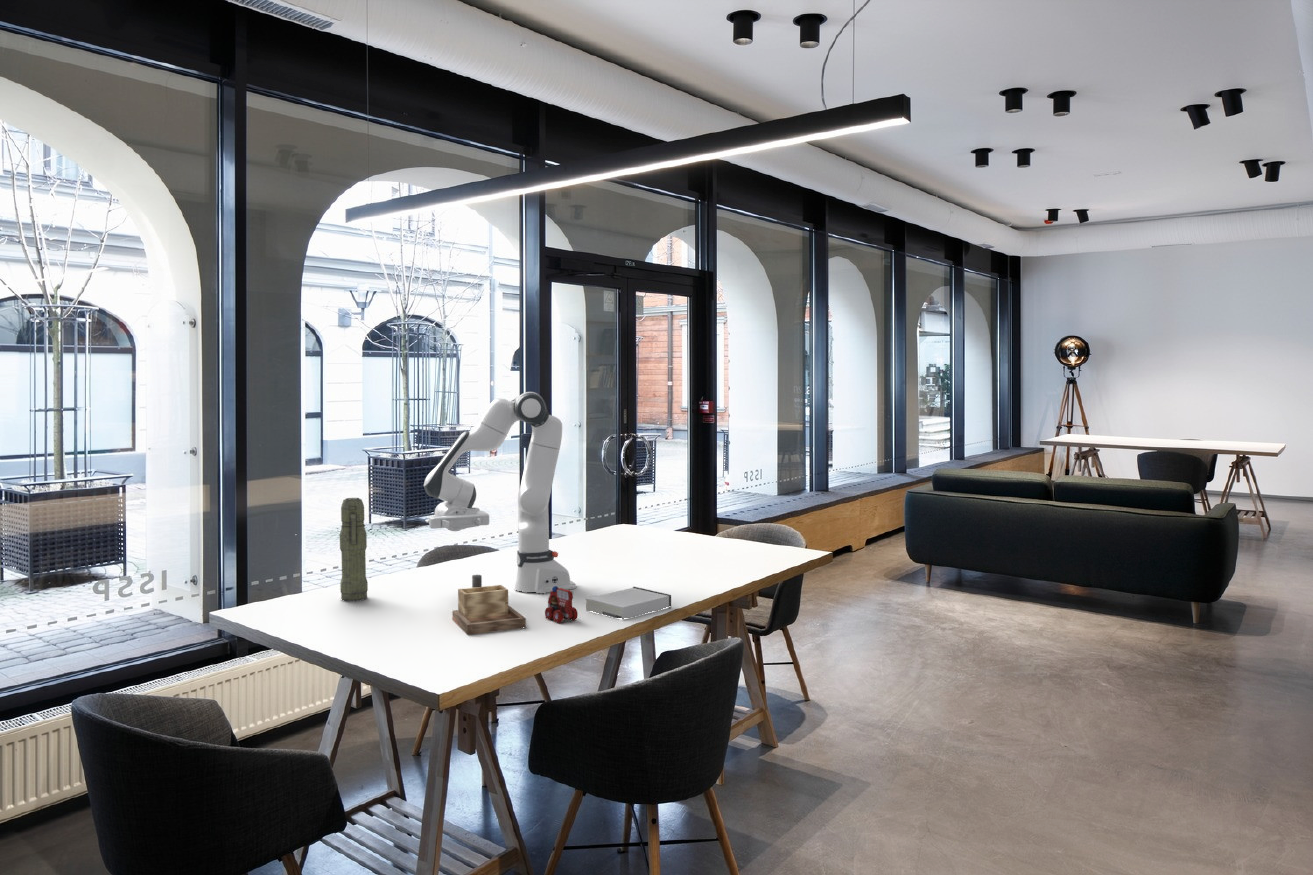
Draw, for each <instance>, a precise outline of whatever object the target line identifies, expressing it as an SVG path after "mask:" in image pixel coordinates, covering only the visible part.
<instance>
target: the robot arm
mask: <svg viewBox="0 0 1313 875" xmlns="http://www.w3.org/2000/svg"><path fill="white" fill-rule="evenodd" d="M548 411H549V410H548V408H547V405H546V402H545V400H544V398H543V397H542V395H540V394H538V393H537V392H534V391H526V392H523V393H521V394H520V395H519V396H517V397H516V398H514V399H512V400H508V399H506V398H495V399H493V400H492V401H491V403H489V405H488V406H487V408H486V409H485V411H484V412H483V414H482V415H481V417H480V419H479V421H478V423H477V424H476V425H475V426H474V427H473V428H472V429H471V430H469V431H468V430H467V431H466V430H465V431H464V432H462V433H461V434H460V435H459V436H458V437H457V439H456V440H455V441H454V442H453V443H452V445H451V446H450V447H449V448H448V450H447V451H446V452H445V453H444V455H443V456H442V458H441V459H440V461H439V462H437V464H436V465H435V467H433V469H432V470H431V471H430V472H429V473H428V474H427V475H426V477H425V479H424V483H423V488H424V491H425V493H426V495H427V496H429V497H432V498H435V499H439V500H441V501H443V502H440V503H439V504H437V506H436V507H435V509H434V515H433V514H432V515H429V516H428V518H427V519H425V523H427V524H428V525H429V528H430V529H447V530H448V531H451V532H460V531H461V530H466V529H470V528H477V527H481V526H488V525H490V514H489V513H488V512H486V511H483V510H480V508H479V507H474V505H475V502H476V499H477V490H476V487H475V484H474V483H473V482H472V483H471V482H470V481H468V480H466V479H463V478H460V477H458V476H456V475H454V474H451V473H449V471H450V470H451V468H452V467H453V465H454V464H455V463H456V461H457V460H458V459H459V458H460V456H461V455H463V454H464V453H465V452H473V451H475V452H491V451H495V450H497V449H499V448H500V447H501V446H502V445H503V443H504V441H505V440H506V438H507V437H508V434H509V432H510V430H511V428H512V427H513V425H514V424H515V423H517V422H519V421H521V422H523V423H525V424H526V423H527V424H528V425H530V426H531V436H530V441H529V445H528V449H527V454H526V459H525V462H524V468H523V473H522V478H521V482H520V487H519V489H518V494H517V505H518V506H517V509H518V514H517V516H518V517H517V518H518V520H517V522H518V525H517V531H518V532H517V533H518V535H517V537H518V538H517V539H518V540H517V541H518V547H517V548H518V549H517V551H516V564H517V573H516V581H515V584H514V588H513V589H514V590H515V591H516V590H517V591H516V592H519V591H522V592H521V593H527V592H536V593H535V594H538V593H544V594H547V593H546V592H551V591H552V588H553V587H554V586H557V587H558V588H562V589H566V590H569V591H570V590H573V589H576V588H577V583H576V582H574V581H572V580H571V576H570V572H569V570H568V569H567V568H566V567H564V566H563V565H561V563H559V562H558V561H556V559H555V558H558V557H559V553H558V552H557V551H553V550H552V549H550V535H549V534H550V530H549V529H550V528H549V527H550V524H549V522H550V521H549V518H550V517H549V503H550V498H551V494H552V488H553V484H554V478H555V474H556V472H555V471H556V468H557V463H558V459H559V455H560V450H561V445H562V439H563V423H562V421H561V420H560V419H559V418H558V417H557V416H554V415H551V414H549V412H548Z"/></svg>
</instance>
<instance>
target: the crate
mask: <svg viewBox="0 0 1313 875" xmlns="http://www.w3.org/2000/svg"><path fill="white" fill-rule="evenodd" d="M482 577H483V576H482V575H481V574H472V576H471V585H472V586H471V587H466V588H465V587H464V588H458V589H457V606H458V607H457V610H458V611H459V612H460V613H461V614H462V615H463V616H464V617H465V618H466V619H467V620H468V619H477V618H486V617H494V616H503V615H508V605H509V589H507V588H506V587H505V586H503V585H502V584H497V585H485V586H483V582H482V580H483V578H482Z"/></svg>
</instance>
